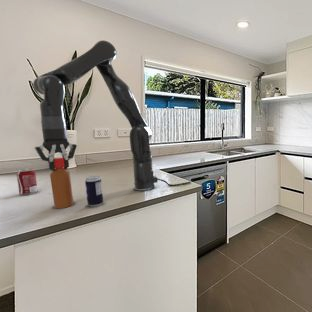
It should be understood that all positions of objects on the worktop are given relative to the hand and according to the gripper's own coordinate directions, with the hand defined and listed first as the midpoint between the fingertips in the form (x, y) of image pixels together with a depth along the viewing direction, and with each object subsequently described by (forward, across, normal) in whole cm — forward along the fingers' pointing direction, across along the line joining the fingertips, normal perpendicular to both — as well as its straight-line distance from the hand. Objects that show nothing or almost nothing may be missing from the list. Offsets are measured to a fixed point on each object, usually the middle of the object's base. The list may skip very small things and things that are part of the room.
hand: (59, 169), depth 91 cm
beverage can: (+16, -8, +10) cm, 20 cm away
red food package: (+16, +5, -34) cm, 38 cm away
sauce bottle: (+16, 0, 0) cm, 16 cm away
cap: (-1, 0, 0) cm, 1 cm away
